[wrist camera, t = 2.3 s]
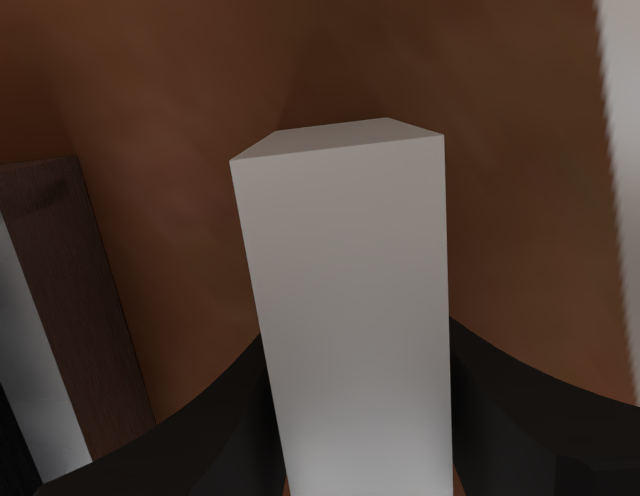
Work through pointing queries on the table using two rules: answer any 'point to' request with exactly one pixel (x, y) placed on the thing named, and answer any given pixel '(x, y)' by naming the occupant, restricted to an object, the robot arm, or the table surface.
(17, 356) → the rack
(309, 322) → the white rectangular block
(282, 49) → the table surface
